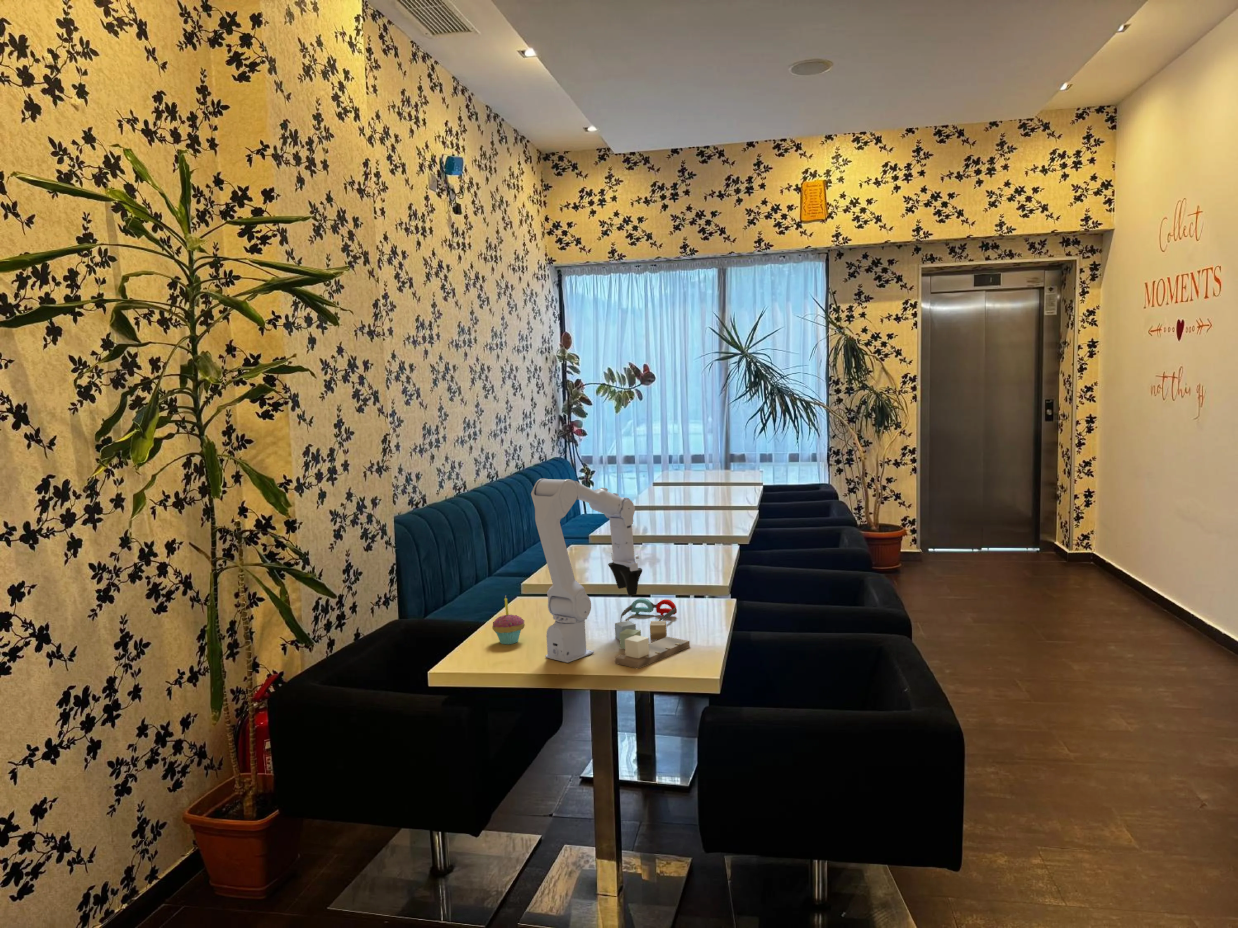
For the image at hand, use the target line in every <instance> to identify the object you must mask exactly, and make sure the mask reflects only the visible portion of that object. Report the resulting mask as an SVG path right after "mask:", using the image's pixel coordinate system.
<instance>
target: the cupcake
mask: <svg viewBox="0 0 1238 928" xmlns="http://www.w3.org/2000/svg"><path fill="white" fill-rule="evenodd" d="M504 608H505V614H504V615H501V616H498V617H497V618H496V619H494V621H493V622H492V628H491V629H492V630H493V631H494V632H495V634H496V637H498V638H497V639H498V640H499V644H502V645H513V644H517V643H518V642H519V638H520V636H521V631H522V630H523V629H524V628H525V626H526V625H525V620H524V619H523V618H522V617H521V616H519V615H517V614H510V613H509V605H508V598H507V595H505V596H504Z"/></svg>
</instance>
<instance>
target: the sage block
mask: <svg viewBox="0 0 1238 928" xmlns="http://www.w3.org/2000/svg"><path fill="white" fill-rule="evenodd" d="M619 634H620V640H619V649H621V650H625V639H627V638H629V637H632V636H635V635H638V636H642V631H641V629H636V630H632V629H626V630H624V631H622V632H621V633H619Z"/></svg>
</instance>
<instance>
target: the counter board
mask: <svg viewBox="0 0 1238 928" xmlns="http://www.w3.org/2000/svg"><path fill="white" fill-rule="evenodd" d="M690 647H691V645H690V640H688V639H687V640H686V639H681V638H677V637H670V636H667V637H665V638H663V639H660V640H654V641H653V642H649V654H648V655H646V656H643V657H641V658H639V659H638V658H634V657H629V656H626V655H625V653H623V654H620V655H617V656H615V657H614V658H615V660H614V662H615V664H617V665H621V666H625V667H628V668H629V667H630V668H633V669H641V668H643V667H645V666H648V665H650V664H653V663H655V662H657V661H660V660H662V659H665V658H667V657H669V656H671V655H674V654H677V653H679V652H680V651H683V650H686V649H688V648H690Z"/></svg>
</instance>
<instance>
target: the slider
mask: <svg viewBox="0 0 1238 928" xmlns="http://www.w3.org/2000/svg"><path fill="white" fill-rule="evenodd" d="M649 638H650V637H648V636H642V635H641V636H638V635H635V636H632V637H629V638H627V639H625V649H624V654H625V655H626V656H629V657H634V658H638V659H639V658H641V657H643V656H646V655H648V654H649V644H650V642H649Z"/></svg>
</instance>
